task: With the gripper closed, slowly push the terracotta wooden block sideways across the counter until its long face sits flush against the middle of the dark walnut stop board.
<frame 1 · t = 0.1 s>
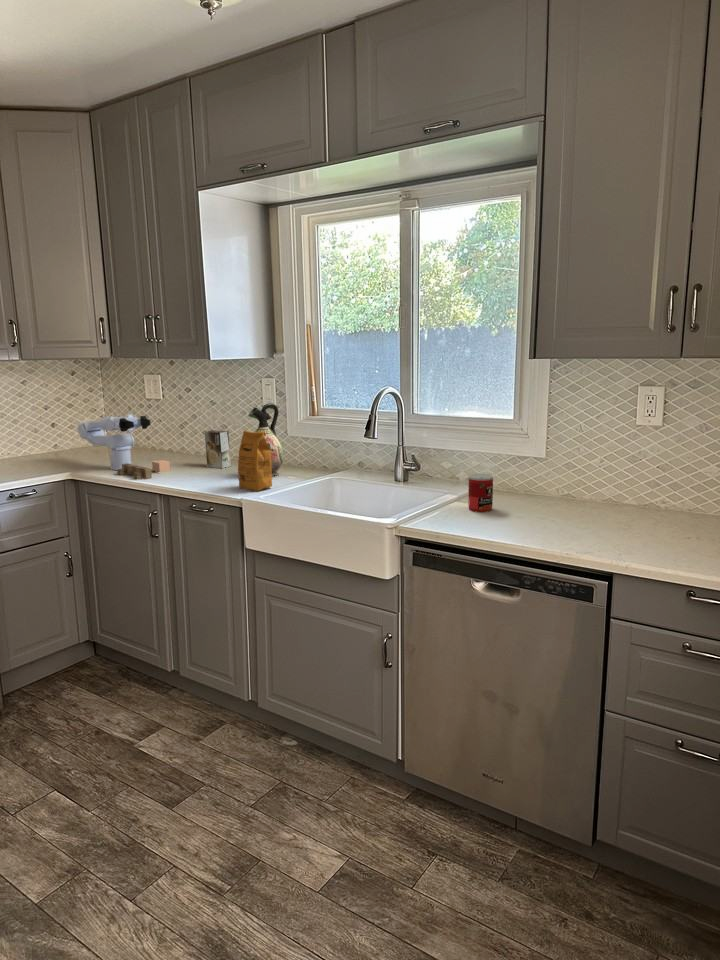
hand: (141, 423, 289), 22 cm above the worktop, tool horizontal, fingers open, 7 cm apart
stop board: (136, 475, 291), on the worktop
coffee box: (218, 467, 307), on the worktop
ceramic jug: (267, 475, 286), on the worktop
coffee package: (255, 488, 261), on the worktop
canned food: (480, 509, 223), on the worktop
terracotta block: (161, 471, 299), on the worktop
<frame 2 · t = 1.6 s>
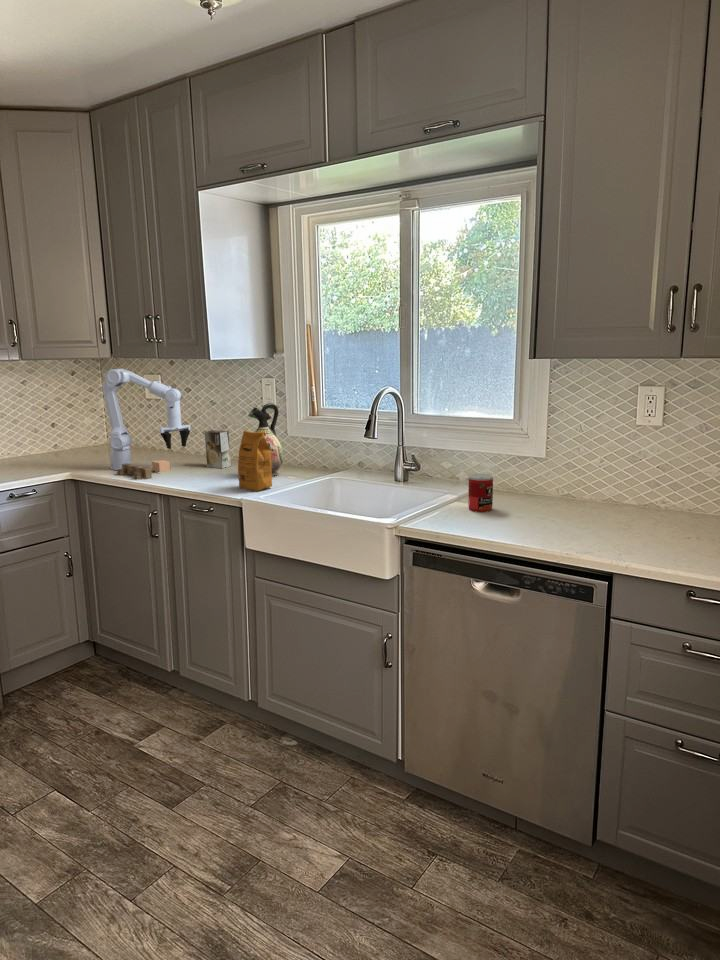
hand: (176, 447, 303), 9 cm above the worktop, tool pointing down, fingers open, 7 cm apart
nothing on the worktop moved.
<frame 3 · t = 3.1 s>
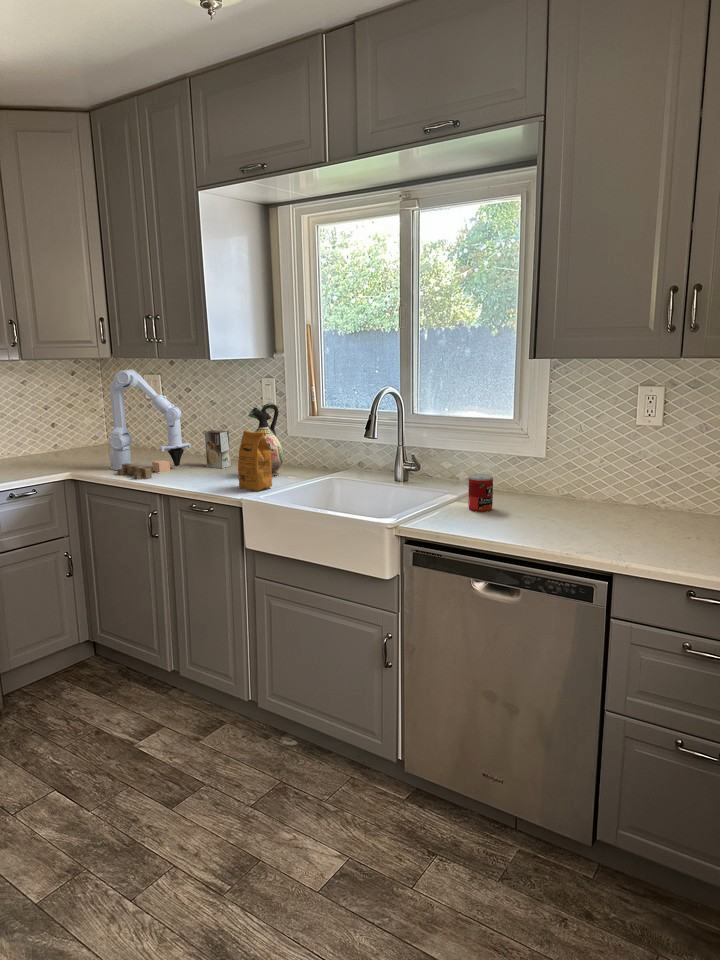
hand: (176, 465, 304), 1 cm above the worktop, tool pointing down, fingers closed
nothing on the worktop moved.
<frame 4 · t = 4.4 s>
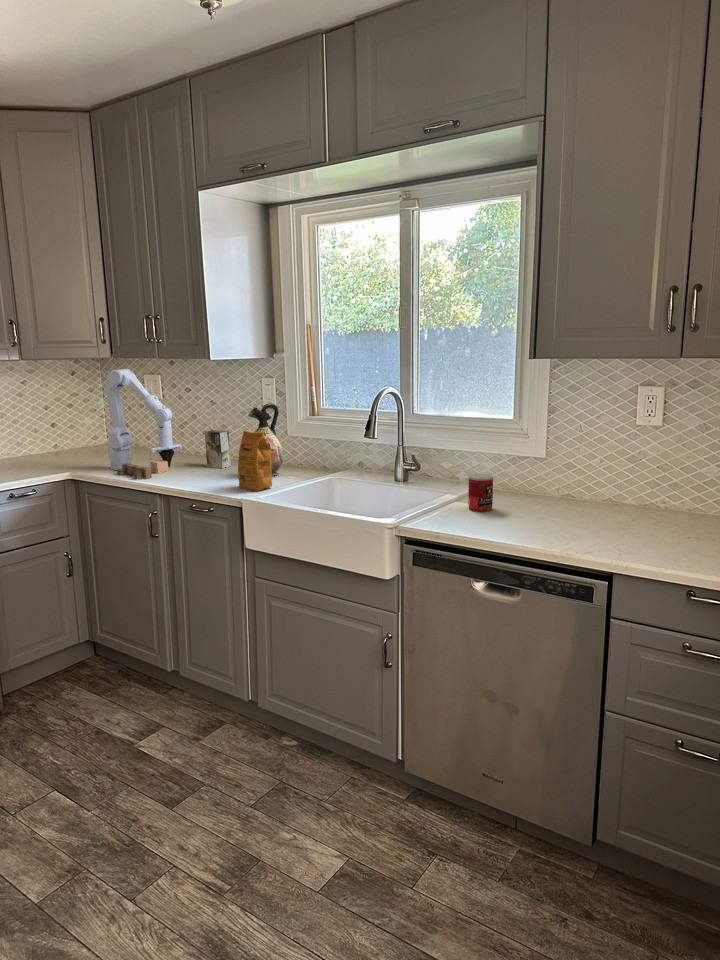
hand: (167, 467, 301), 1 cm above the worktop, tool pointing down, fingers closed
terracotta block: (159, 471, 298), on the worktop, touching gripper
everything else where it was.
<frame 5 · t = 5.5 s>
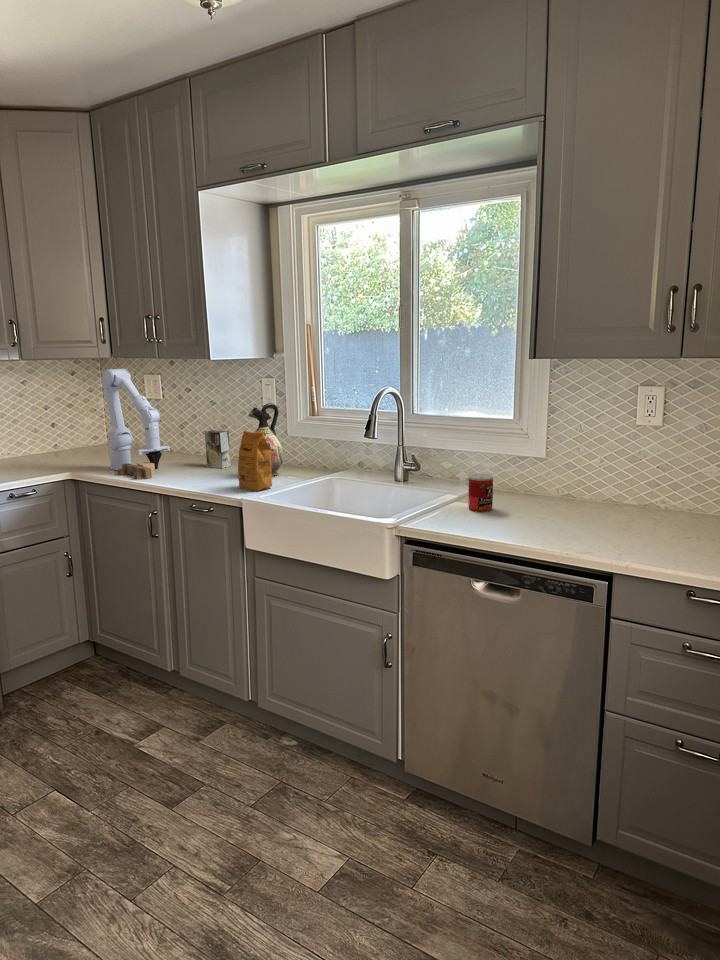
hand: (155, 469, 296), 1 cm above the worktop, tool pointing down, fingers closed
terracotta block: (146, 473, 294), on the worktop, touching gripper
everything else where it was.
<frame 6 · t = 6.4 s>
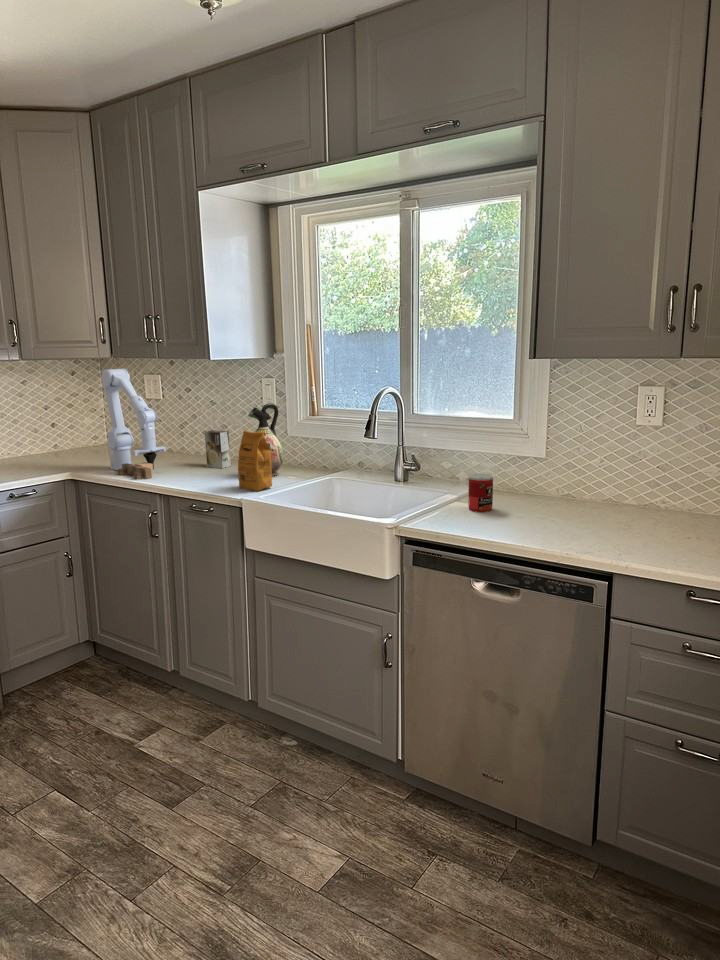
hand: (151, 469, 295), 1 cm above the worktop, tool pointing down, fingers closed, pressing on terracotta block
terracotta block: (144, 474, 293), on the worktop, touching gripper, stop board
everything else where it was.
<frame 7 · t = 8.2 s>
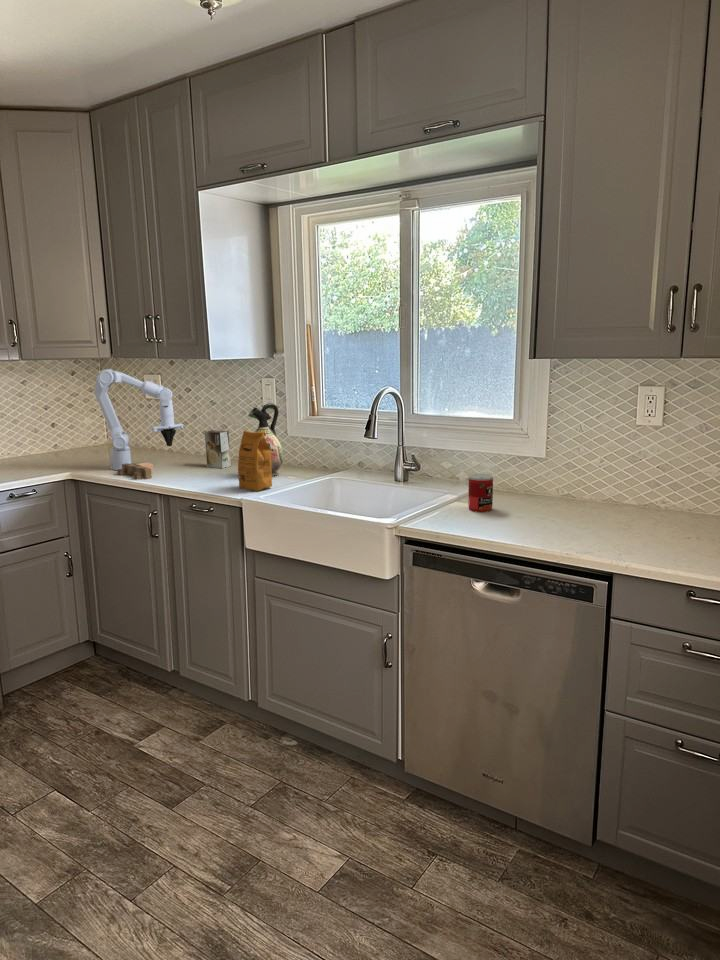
hand: (169, 445, 308), 9 cm above the worktop, tool pointing down, fingers closed
terracotta block: (144, 474, 293), on the worktop
everything else where it was.
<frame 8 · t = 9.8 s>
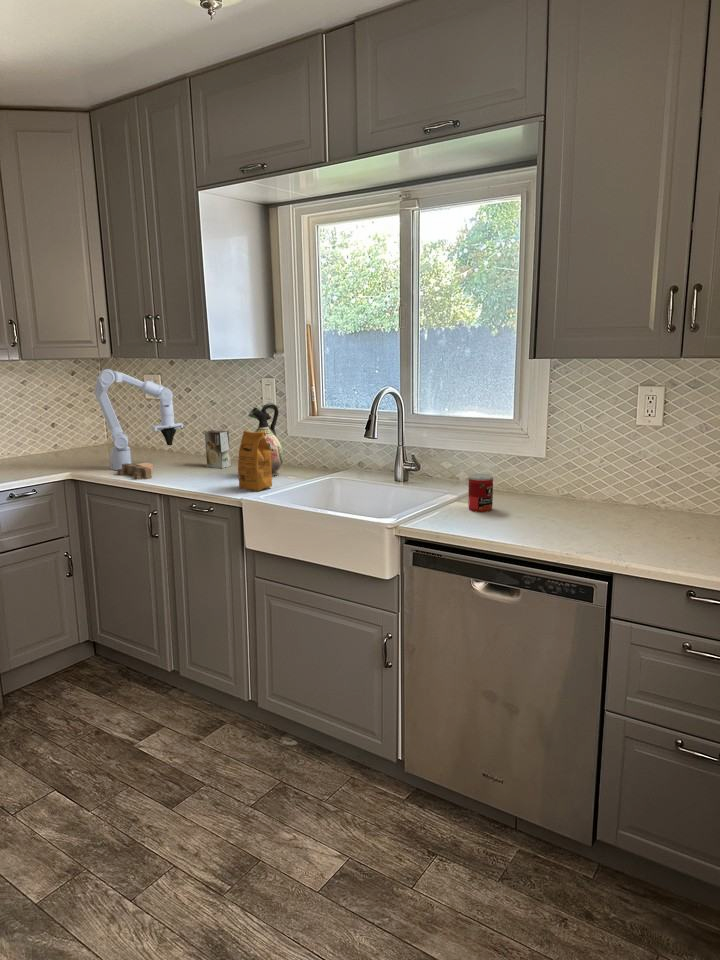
hand: (169, 445, 310), 9 cm above the worktop, tool pointing down, fingers closed
nothing on the worktop moved.
at the end: terracotta block 0.3 cm from the target spot on the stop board, point 0.0 cm above the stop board's base; terracotta block tilted 0° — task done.
